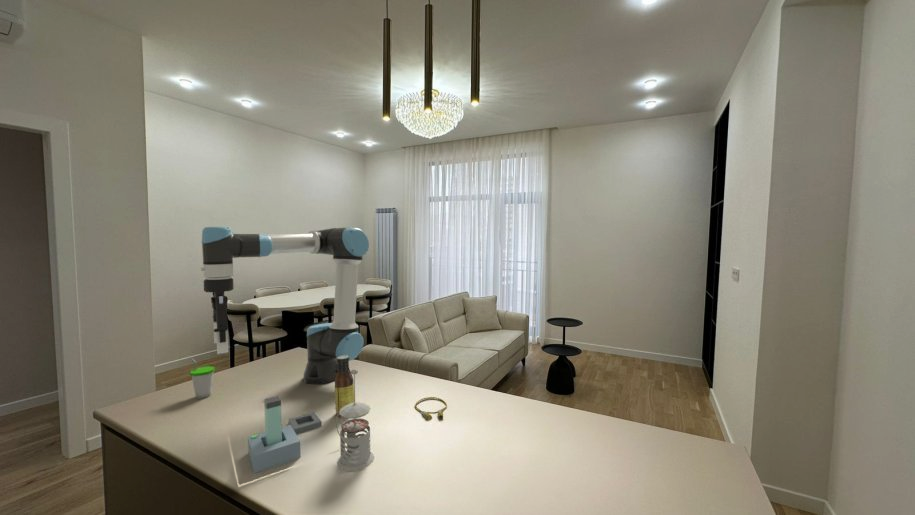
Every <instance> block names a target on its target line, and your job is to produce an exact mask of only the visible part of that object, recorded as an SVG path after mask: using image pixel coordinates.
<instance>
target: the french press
mask: <svg viewBox="0 0 915 515" xmlns="http://www.w3.org/2000/svg"><path fill="white" fill-rule="evenodd" d="M350 372H351V374H352V375H353V380H354V403H351V404H348V405H345V406H344V407H343V408H341V409H340V411H339V414H340V415H341V417H340V426H341V429H340V431H339V429H338V421H337V420H338V418H339V417H338V416H339V414H338V415H336V417H335V428H336V432H337V434H338V437H339V438H340V443H339V444H340V446H339V447H340V456H339V457H338V459H337V461H336V465H337V468H338V469H340V470H341V471H345V472H358V471H360V470H361V471H362V470H364V469H366V468H367V467H369V466H370V465H372V463H373V462H374V459H375V456H374V453H373V452H371V427H370V425H369V424H370V423H369V421H368V420H367V419H366V418H365V419H364V418H363V417H365V416H367V415H368V414H369V413H370V411H371V407H370V405H368V404H366V403H364V402H360V401H359V402H356V374H358V373H359V370H358V369H357V368H352V369H350ZM343 418H345V419H348V420H346V421H345V422H343V421H342V420H343ZM362 432H364V433H362Z"/></svg>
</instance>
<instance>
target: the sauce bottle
mask: <svg viewBox="0 0 915 515" xmlns="http://www.w3.org/2000/svg"><path fill="white" fill-rule="evenodd" d="M349 362H350V361H349V356H347V355H343V356H339V357H337V366H338V369H337V370H338V371H337V374H336V376H335V380H334V400H335V413H336V414H335V415H336V416H337V415H338V414H339V411H340V409H341V408H343V407H344V406H345V405H348V404H351V403H354V376H353V374H351V369H350V364H349ZM338 418H341V415H340V414H339V416H338Z"/></svg>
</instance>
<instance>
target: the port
mask: <svg viewBox="0 0 915 515" xmlns="http://www.w3.org/2000/svg"><path fill="white" fill-rule="evenodd" d="M247 446H248V447H247V449H248V450H247V452H248V457H249V460H250V463H251V466H252V470H253V472H254V474H255V473H260V472H262V471H265V470H268V469H270V468H274V467H277V466H280V465H282V464H283V465H284V464H286V463H288V462H292V461H294V460H297V459H300V458H301V440H300V438H299V437H298V435H297V434H296V433H295V431H294V429H293V428H292V426H291V425H289V424H288V425H285V426H282V442H279V443H276V444H272V445H269V446H266V442H265V431H264V432H260V433H257V434H252V435H250V436H248V437H247Z"/></svg>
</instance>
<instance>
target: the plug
mask: <svg viewBox="0 0 915 515" xmlns="http://www.w3.org/2000/svg"><path fill="white" fill-rule="evenodd" d="M263 402H264V405H263V406H264V407H263V408H264V432H265V442H266V446H269V445H272V444H276V443H279V442H282V427H283V426H282V423H283V422H282V420H283V419H282V400H281V398H280V395H275V396H270V397H267V398H264V400H263Z"/></svg>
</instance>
